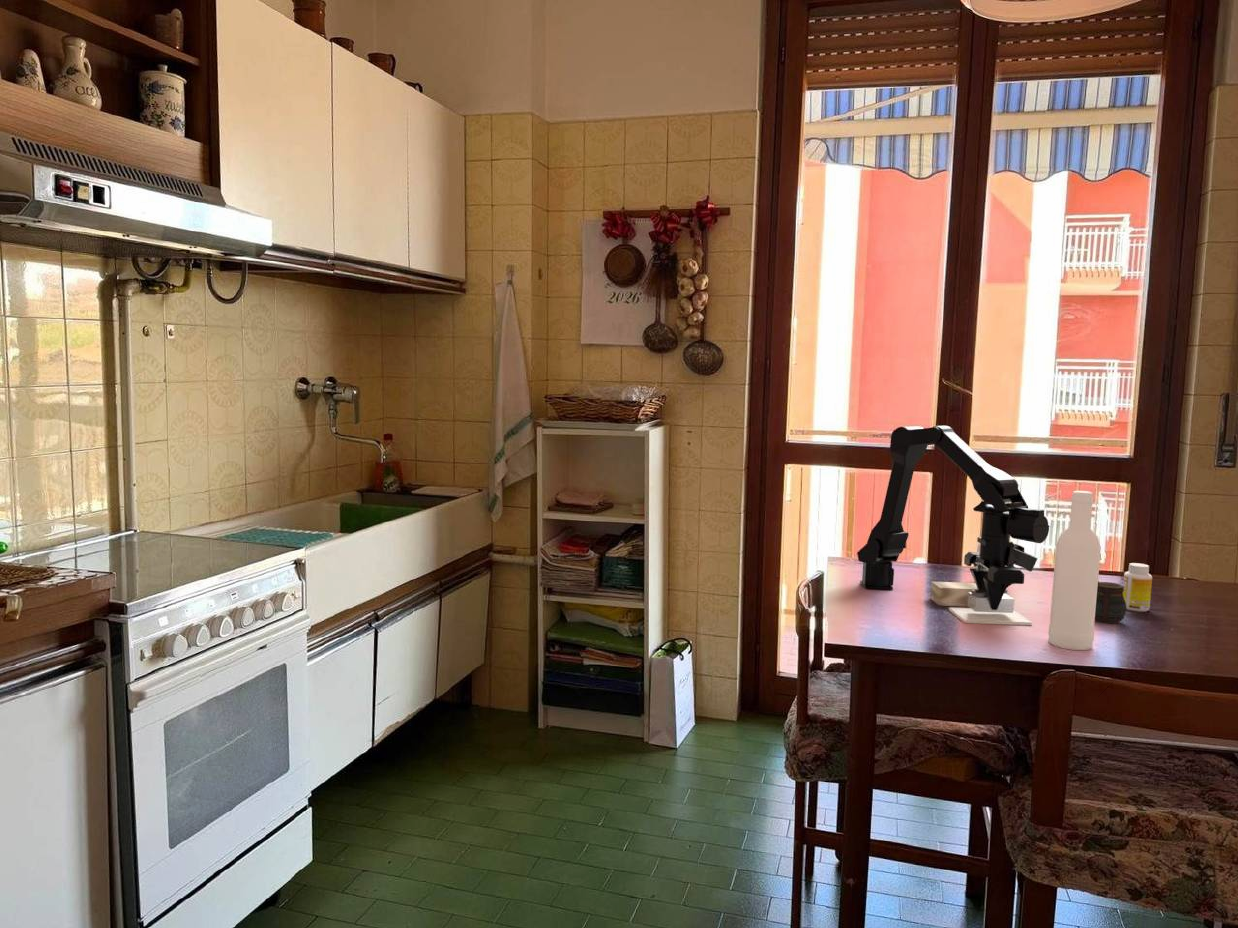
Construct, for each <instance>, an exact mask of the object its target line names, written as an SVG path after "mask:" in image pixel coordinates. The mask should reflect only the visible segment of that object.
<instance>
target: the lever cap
mask: <svg viewBox="0 0 1238 928" xmlns="http://www.w3.org/2000/svg"><path fill="white" fill-rule="evenodd" d="M1014 607H1015V598H1013V597H1012V596H1010V595H1009V594H1008V593H1007V594H1003V597H1002V599H1001V602H1000V604H999V606H998V609H997V610H992V609H991V606H990V603H989V599H988V595H987V593H986V592H985V591H983V590H971V592H969V593H968V606H967V608H971V609H972V610H974V611H975V612H1000V613H1013V610H1014Z"/></svg>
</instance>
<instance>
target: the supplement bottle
mask: <svg viewBox="0 0 1238 928" xmlns="http://www.w3.org/2000/svg"><path fill="white" fill-rule="evenodd" d="M1128 564H1129V565H1128V570H1127V571H1125V572H1124V574H1123V582H1122V583H1123V584H1122V585H1123V586H1124V591H1123V597H1124V600H1125V603H1126V607H1127V610H1126V611H1132V612H1140V613H1141V612H1143V613H1144V612H1148V611H1149V610H1150V606H1151V596H1152V584H1153V576H1152V575H1151V574H1150V573H1149V571H1150V565H1148V564H1145V563H1139V562H1138V563H1137V562H1131V563H1128Z"/></svg>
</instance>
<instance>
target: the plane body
mask: <svg viewBox="0 0 1238 928" xmlns="http://www.w3.org/2000/svg"><path fill="white" fill-rule="evenodd" d="M930 586H931V587H930V598H929V599H930V600H932V601H933V603H935V604H936V605H938V606H944V607H945V606H946V607H947V606H948V607H949V606H950V607H968V593H969V592H971V590H978V588H977V586H976V583H975V582H959V581H958V582H954V581H953V582H951V581H949V582H948V581H931V584H930ZM1004 594H1007V595H1008V589H1006V590H1005V592H1004Z"/></svg>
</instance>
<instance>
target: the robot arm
mask: <svg viewBox="0 0 1238 928" xmlns="http://www.w3.org/2000/svg"><path fill="white" fill-rule="evenodd" d="M934 445H935V446H936V447H937V448H938V449H939V450H940V451H941V452H942V453H943V454H945V455H946V456H947V458H949V460H951V461H952V462H953V463H954V465H956V467H958V468H959V469H960V470H961V471H962V472H963V473H965V475H966V476H967V477H968V479H970V481H971V483H972V487H973V490H975V492H976V494H977V495H978V496H979V497H980V499H981V502H980V503H978V504H977V505H976V506H974V507H973V511H974V512H977V513H978V512H979V513H982V518H981V530H980V536H977V539H976V542H977V543H978V544H979V543H980V552H977V551H968V552H967V553H966V554H965V555H964V556H963V557H964V560H963V561H964V562H963V565H965V566H968V567H971V566H972V565H973V566H972V567H973V568H972V567H971V568H969V572H970V573H971V576H972V578H973V580H974V583H976V586H977V588H978V590H983V591H985V592H986V593H987V595H988V599H989V603H990V606H991V609H992V610H997V609H998V606H999V604H1000V602H1001V599H1002V597H1003V594H1004V592H1005V590H1007V589H1008V588H1009V587H1011V586H1012V585H1015V584H1018V585H1024V583H1025V573H1024V572H1023V571H1022V570H1021V569H1019V568H1017V567H1016V566H1018V567H1021V568H1023V569H1025V570H1026V571H1028V572H1032V571H1033V569H1034V567H1035V566H1036V563H1037V561H1038V557H1035V556H1034V555H1032V554H1029V553H1027V552H1025V547H1024V546H1023V545H1020V544H1016V543H1014V541H1011V538H1012V539H1015V540H1018V541H1019V540H1020V541H1026V542H1031V543H1035V544H1042V543H1044V542H1045V541H1046V539H1047V537H1048V536H1049V533H1050V525H1049V521H1048V519H1047V517H1046V516H1045V510H1044V509H1039V508H1038V509H1034V508H1033V509H1032V508H1029V506H1028V504H1027V502H1026V501H1025V499H1024V497H1023V495H1022V493H1021V491H1020V490H1019V484H1018V481H1017V480H1016V479H1015V478H1014V477H1013V476H1011V475H1009V474H1008V473H1007V472H1005V471H1003V470H1001V469H999V468H997V467H994V466H993V465H991V464H989V463H987V461H985V460H984V458H982V457H981V456H980V455H979V454H978V453H977V452H976V451H975V450H973V449H972V447H970V446H969V445H968V444H967V443H966V442H965V441H964V440H963V439H962V438H961V437H960V436H959V435H957V433H955V431H954V429H953V428H952V427H951V426H948V425H935V426H932V427H926V428H924V427H922V426H900V427H897V428H894V429H893V431H892V433H891V435H890V441H889V452H890V455H891V459H892V466H891V471H890V475H889V479H888V482H887V483H888V484H887V489H886V493H885V498H884V500H883V501H884V502H883V506H882V511H881V515H880V518H879V520H878V522H877V523H876V524H875V526H873V528H872V529H871V532H870V534H869V536H868V538H867V541H866V544H865V545H863V546H862V547H861V548H860V549H858V551H857V553H856V555H857V559H858V560H857V561H858V562H861V563H862V573H861V574H862V575H861V578H862V579H861V580H860V581H859V583H860V584H861V585H862V586H863V587H864V589H868V590H870V589H871V590H873V589H874V590H894V587H893V586H894V580H895V579H894V576H895V569H894V568H893V562H897V561H898V559H899V556H900V555H901V554H902V553H903V551H904V549H907V540H908V537H909V532H908V531H904V527H903V524H902V523H903V518H904V513H905V510H906V506H907V502H908V498H909V493H910V490H911V489H910V488H911V483H912V480H913V477H914V471H915V467H916V465H918V463H919V461H920V460H921V459H923V457H924V455H925V452H926V451H927V447H928V446H934Z"/></svg>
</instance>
